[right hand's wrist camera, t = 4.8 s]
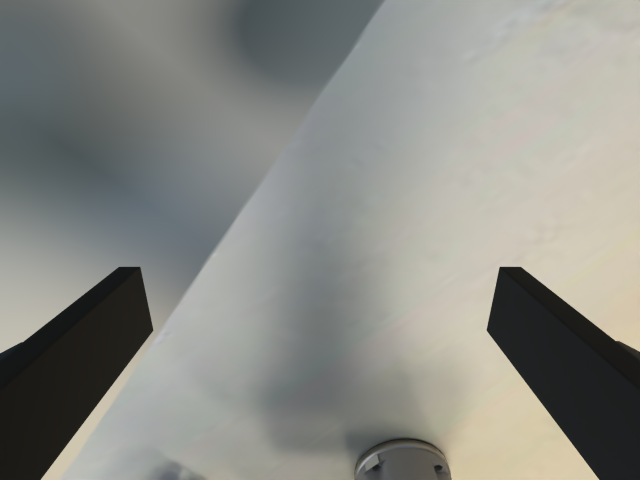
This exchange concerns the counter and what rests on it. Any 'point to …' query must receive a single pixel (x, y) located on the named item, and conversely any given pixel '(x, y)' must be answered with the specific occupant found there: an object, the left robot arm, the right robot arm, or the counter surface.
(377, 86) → the counter surface
